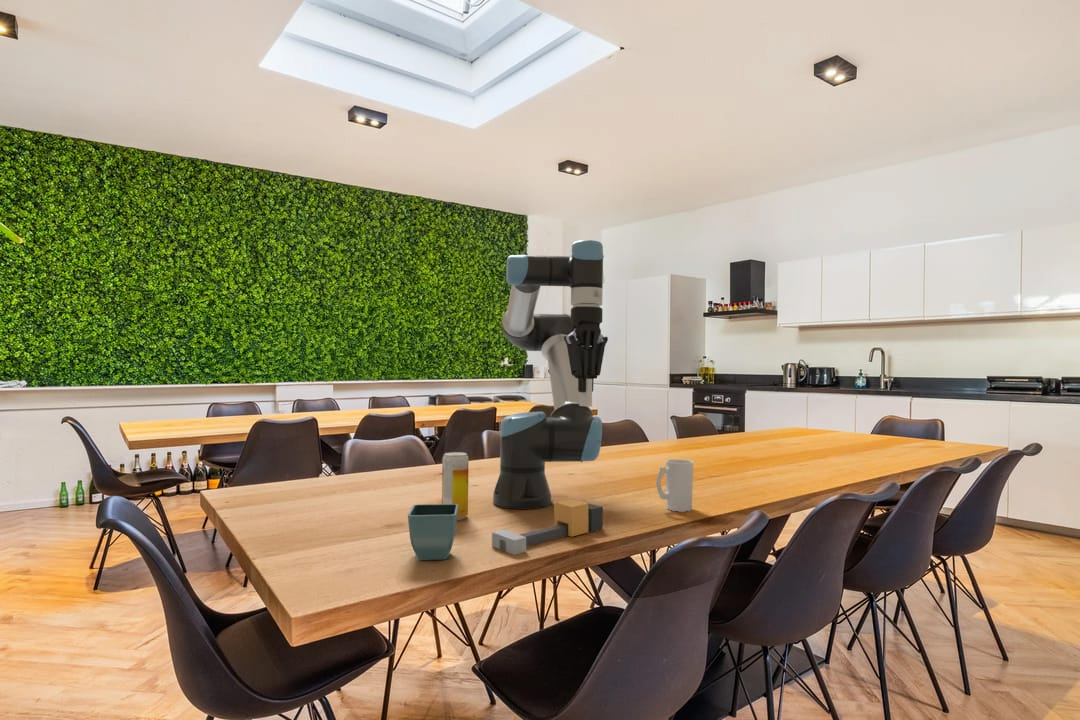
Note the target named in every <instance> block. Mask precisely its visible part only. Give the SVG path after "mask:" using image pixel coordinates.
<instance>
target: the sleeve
mask: <svg viewBox="0 0 1080 720" xmlns="http://www.w3.org/2000/svg"><path fill="white" fill-rule="evenodd" d="M588 503H589V502H584V501H580V500H575V499H571V498H569V499H565V500H559V501H555V502H553V506H554V507H553V508H554V509H553V514H554V516H553V520H554V521H553V526H557V525H561V524H565V523H568V536H569V537H575V536H579V535H583V534H587V533H589V531H588ZM568 536H567V537H568Z"/></svg>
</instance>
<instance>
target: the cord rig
mask: <svg viewBox="0 0 1080 720" xmlns="http://www.w3.org/2000/svg"><path fill="white" fill-rule="evenodd" d="M587 503H588V532H589V531H590V532H589V533H594V532H593V531H595V532H598V531H597V530H599V531H602V530H601V529H603V525H604V524H603V523H604V519H603V517H604V512H603V511H604V507H603V506H601V505H597V504H593V503H589V502H587ZM564 537H568V523H565V524H561V525H557V526H554V525H553V526H548V527H544V528H541V529H535V530H533V531H528V532H527V531H526V532H523V533H519V534H518V533H515V532H512V531H509V530H506V529H500V530H496V531H491V546H492V547H493V548H495V549H498V550H500V551H503V552H505V553H508V554H511V555H512V556H515V555H518V554H522V553H523V554H524V553H526V552H527V547H530V546H534V545H538V544H541V543H545V542H549V541H553V540H556V539H561V538H564Z"/></svg>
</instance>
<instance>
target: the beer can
mask: <svg viewBox="0 0 1080 720" xmlns="http://www.w3.org/2000/svg"><path fill="white" fill-rule="evenodd" d="M441 460H442V464H441V465H442V467H441V468H442V469H441V470H442V473H441V475H442V479H441V482H442V483H441V484H442V485H441V487H442V488H441V504H458V514H457V521H460V520H464V519H466V518H467V515H469V462H470V461H469V456H468V454H467V453H466V452H462V451H459V452H458V451H451V452H450V451H449V452H445V453H444V454H443V456H442V459H441Z"/></svg>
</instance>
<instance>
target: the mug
mask: <svg viewBox="0 0 1080 720" xmlns="http://www.w3.org/2000/svg"><path fill="white" fill-rule="evenodd" d="M664 474H665V490H666V491H665V492H664V491H663V488H662V483H661V482H662V477H664ZM693 483H694V461H693V460H688V459H679V458H677V459H675V458H674V459H667V460H665V467H664V466H660V467H659V471H658V474H657V476H656V489H657V492H658V495H659V498H660V499H661V500H665V501H666V509H667V510H668V509H669V510H668V511H671V510H672V512H676V511H678V512H679V513H684V512H685V513H686V511H688V512H691V511H692V509H693V491H694V490H693V487H694V486H693V485H694V484H693Z"/></svg>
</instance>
